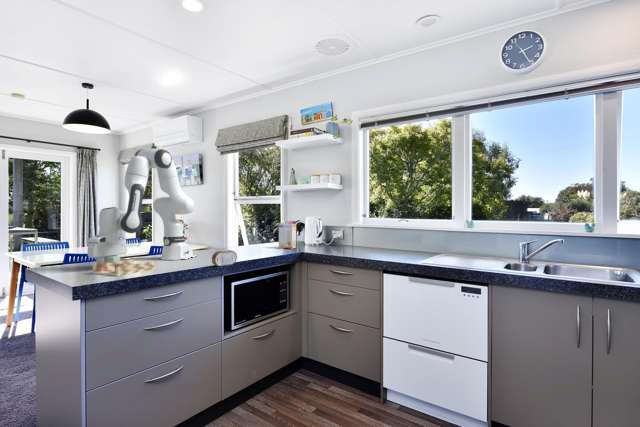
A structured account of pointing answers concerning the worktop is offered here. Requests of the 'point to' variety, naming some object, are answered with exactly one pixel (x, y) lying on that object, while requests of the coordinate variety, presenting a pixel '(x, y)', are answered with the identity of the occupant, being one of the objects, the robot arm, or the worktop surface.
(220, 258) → the tin
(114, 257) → the slider
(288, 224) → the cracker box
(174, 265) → the worktop surface
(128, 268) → the track
